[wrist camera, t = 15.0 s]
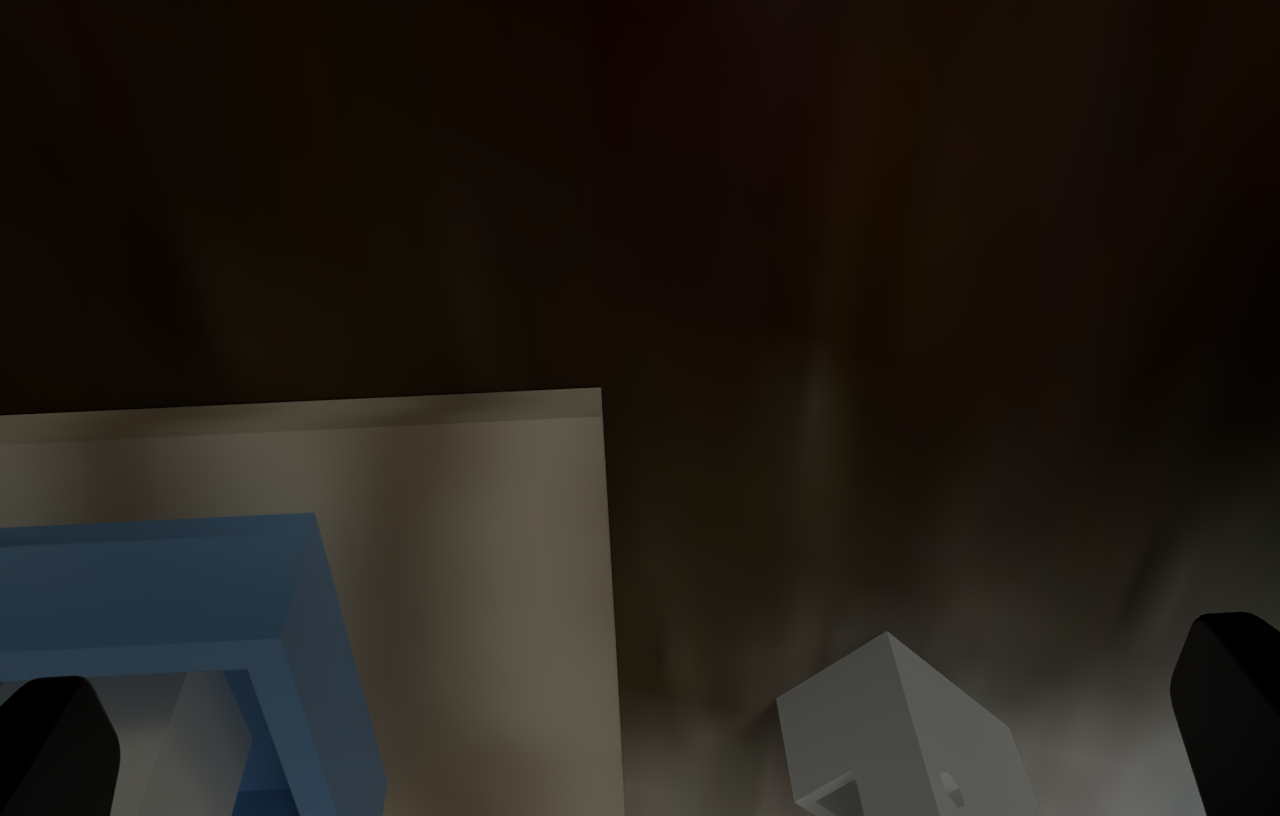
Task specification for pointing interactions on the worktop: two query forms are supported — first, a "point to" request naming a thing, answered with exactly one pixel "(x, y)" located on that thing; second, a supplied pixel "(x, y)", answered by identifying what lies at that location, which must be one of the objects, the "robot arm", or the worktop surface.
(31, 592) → the box
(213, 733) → the connector column
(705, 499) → the worktop surface
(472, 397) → the board
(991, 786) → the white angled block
